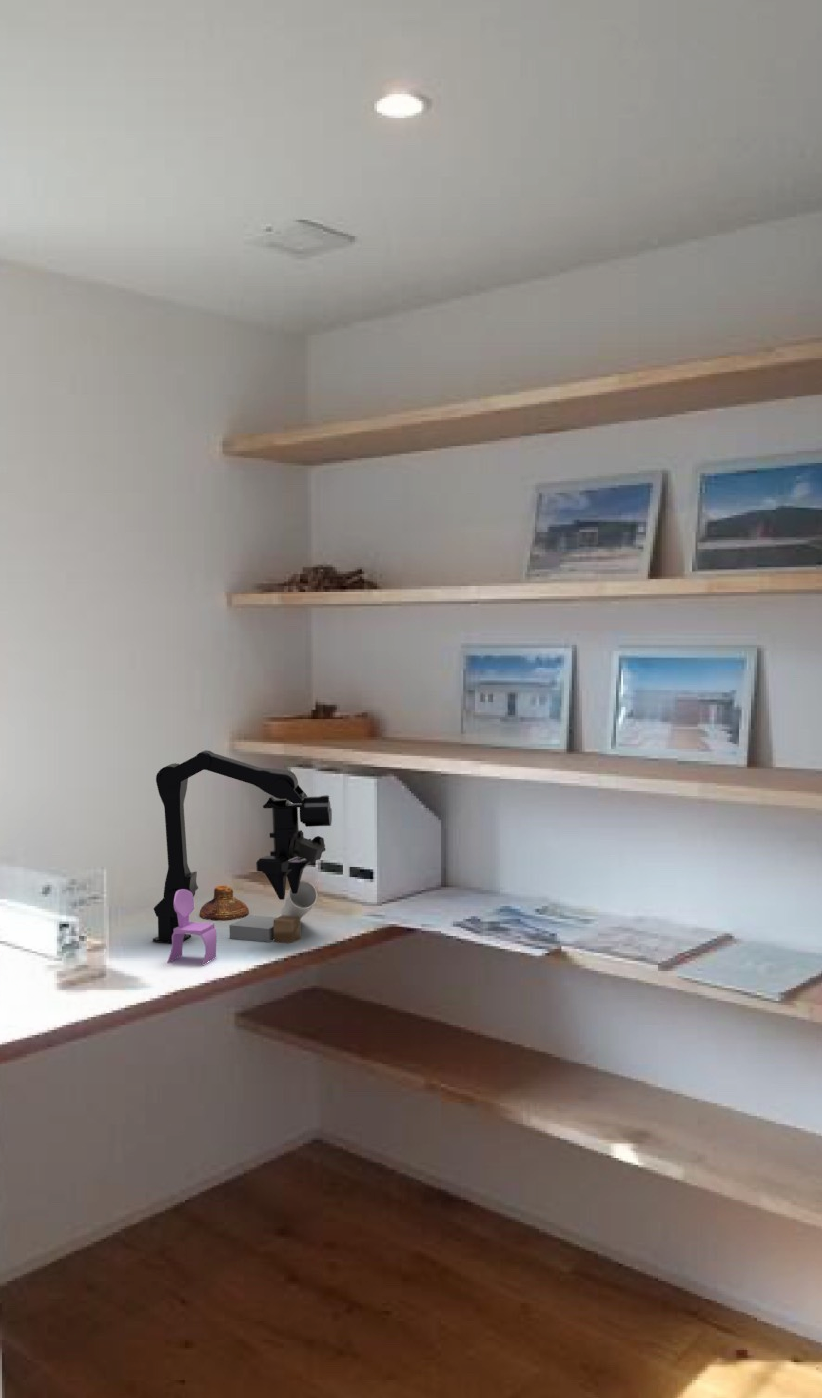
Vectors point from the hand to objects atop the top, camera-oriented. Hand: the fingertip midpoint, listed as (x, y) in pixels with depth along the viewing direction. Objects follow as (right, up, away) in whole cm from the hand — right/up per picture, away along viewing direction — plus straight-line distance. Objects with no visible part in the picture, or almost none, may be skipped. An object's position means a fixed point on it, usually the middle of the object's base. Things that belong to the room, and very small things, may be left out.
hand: (288, 896), depth 263 cm
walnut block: (0, -10, +1) cm, 10 cm away
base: (-7, -10, +6) cm, 14 cm away
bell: (-18, -9, +25) cm, 32 cm away
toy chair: (-19, -11, -14) cm, 26 cm away
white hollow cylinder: (-1, -7, +17) cm, 18 cm away
